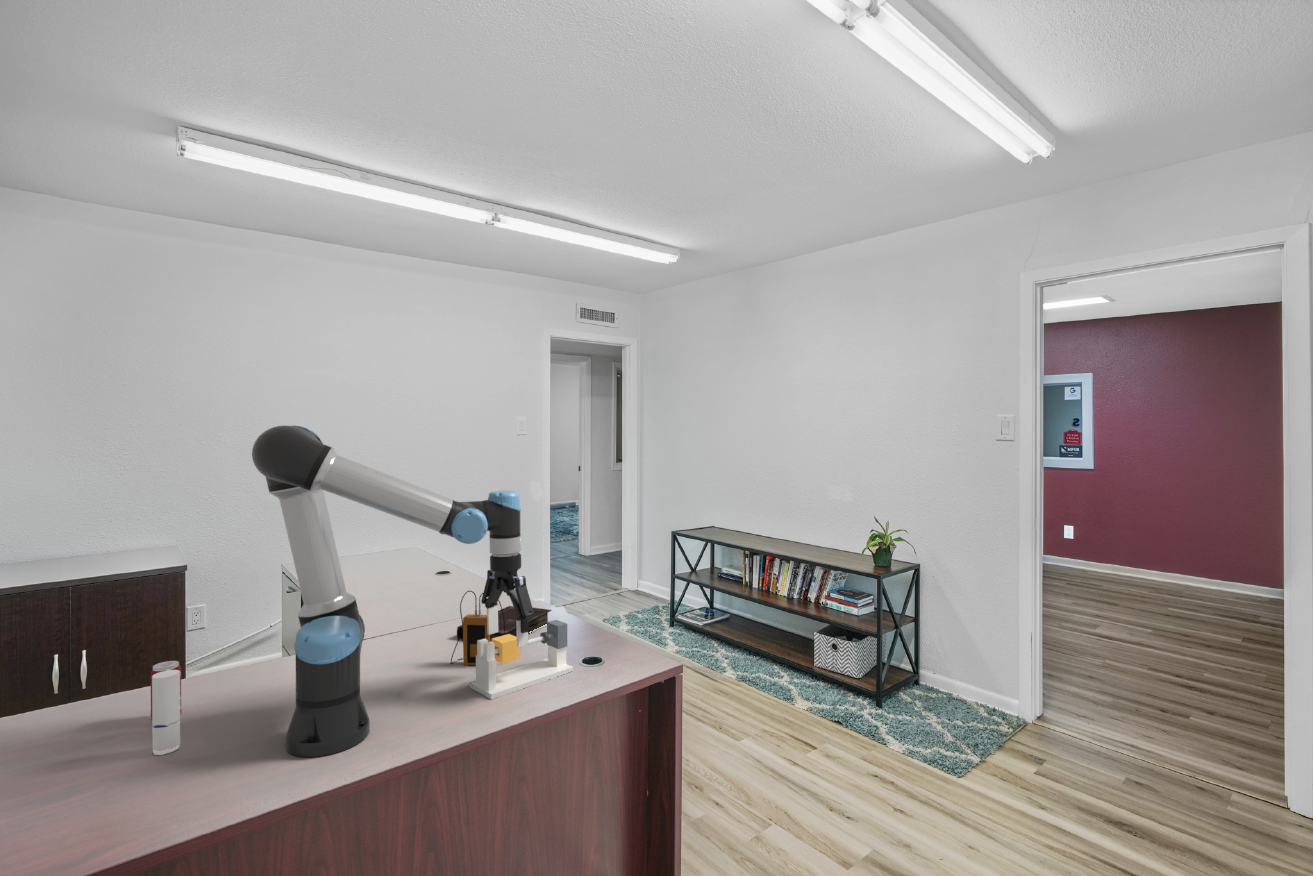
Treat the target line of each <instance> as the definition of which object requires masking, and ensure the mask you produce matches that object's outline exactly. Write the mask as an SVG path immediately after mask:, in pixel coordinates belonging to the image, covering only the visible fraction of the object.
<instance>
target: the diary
mask: <svg viewBox="0 0 1313 876" xmlns="http://www.w3.org/2000/svg"><path fill="white" fill-rule="evenodd" d="M532 608H533V612H534V616H533V617H530V618H529V619H528V634H529V635H531V634H533V633H532V632H531V634H530V633H529V632H530V631H533V630H534V629H537V628H539V627H541V626H543V625H545V624H547V622H549V620H548V619H549V617H548V616H549V615H548V614H549V613H550V612H552V609H549V608H548V609H547V608H539V607H533V606H532ZM502 610H503V614H504V620H503V614H502ZM502 610H501V609H500V610H499V609H498V632H497V633H494V638H496V637H500V636H503V635H504V621H505V635H507V634H510V635H513V636H515V637H517V626H516V619H517V618H518V616H517V613H516V611H515V608H514V606H513V605H508V606H505V607H502ZM461 631H462V624H461V625H459V626H457V628H456V639H457V640H458V639H459V636H460V633H461ZM462 637H463V631H462V633H461V636H460V638H461V639H463V638H462ZM459 640H460V639H459Z"/></svg>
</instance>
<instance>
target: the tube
mask: <svg viewBox="0 0 1313 876" xmlns="http://www.w3.org/2000/svg"><path fill="white" fill-rule="evenodd" d="M151 723H152V727H151V730H152V750H153V749H154V750H157V751H162V750H166V749H170V748H171V749H172V748H173V747H176V746H177V745H179V744H180V745H181V715H180V671H179V670H168V671H163V672H159V673H156V674H154V675H153V676H152V721H151Z"/></svg>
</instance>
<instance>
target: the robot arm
mask: <svg viewBox="0 0 1313 876" xmlns="http://www.w3.org/2000/svg"><path fill="white" fill-rule="evenodd" d="M251 449H252V450H251V457H252V458H251V459H252V461H253V464H254V466H255V468H256V470H258V472H259V473H260V474H261V475H263V476H264V477H265V480H266V485H267V488H268V492H269V494H270V495H272V496H274V497H275V498H277V499H279V504H280V507H281V513H282V516H283V517H282V518H283V520H284V526H285V530H286V533H287V538H288V543H289V547H290V550H291V556H292V559H293V563H294V568H295V572H296V573H295V574H296V577H297V583H298V586H299V589H300V595H301V598H302V602H303V603H302V606H301V608H300V609H299V611H298V613H297V617H298V621H299V625H300V627H299V629H298V630H297V632H296V635H295V641H294V645H293V646H294V652H295V707H294V711H293V714H292V717H291V720H290V723H289V726H288V728H287V732H286V735H285V750H286V752H288V753H289V754H291V755H292V756H295V757H303V758H312V757H313V758H315V757H323V756H328V755H333V754H337V753H340V752H343V751H346V750H349V749H350V748H352V747H354V746H356V745H358V744H360V743H361V742H363V741H364V740H366V738H367V737H368V735H369V734H370V730H371V729H370V717H369V715H368V712H367V709H366V707H365V703H364V702H363V699H362V696H361V654H362V653H361V652H362V647H363V642H364V638H365V631H366V628H365V626H366V625H365V623H364V619H363V618H362V616H361V614H360V612H359V608H358V604H357V603H358V602H357V599H356V597H355V595H352V594H350V593H349V592H347V589H346V584H345V580H344V576H343V572H342V567H341V563H340V558H339V555H338V549H337V544H336V540H335V535H334V532H333V527H332V524H331V523H332V522H331V519H330V514H329V511H328V505H327V501H326V497H325V492H329V493H331V494H334V495H336V496H338V497H342V498H345V499H347V500H350V501H352V502H355V503H358V504H361V505H364V506H366V507H369V508H372V509H374V510H378V511H380V512H383V513H386V514H388V515H392V516H393V517H397V518H399V519H402V520H406V521H407V522H411V523H414V524H416V525H418V526H422V527H425V528H427V529H430V530H433V531H434V532H438V533H439V534H441V535H446V536H449V537H451V538H454V539H455V540H456V541H458V542H460V543H462V544H466V545H471V544H475V543H478V542H480V541H481V540H482V539H483V538H484V537H485V536H486V534H487V533H488V532H489V554H491V555H490V556H489V568H490V569H488V570H487V573H486V574H487V575H486V581H485V585H484V589H483V592H482V593H483V594H482V595H481V599H480V603H481V604H482V605H484V607H485V608H486V615H487V634H488V635H490V634H493V633H497V632H498V611H499V607H498V606H499V604H498V603H499V601H500V600H499V599H500V598H501V596H502V595H503V593H506V596H507V597H509V598H510V599H509V600H510V601H511V604H512V606H514V608H515V611H516V613H517V616H518V618H517V619H516V626H517V647H520V648H522V647H525V646H524V645H526V646H529V645H528V640H529V635H528V619H529V618H530V617H533V616H534V612H533V608H534V607H533V605H532V600H531V598H530V594H529V590H528V587H527V580H526V576H525V575H523V576H518V571H519V570H520V569H521V568H522V554H521V553H520V552H521V550H522V549H521V548H522V547H521V546H522V545H521V543H522V542H521V541H522V540H521V502H520V501H521V500H520V494H519V493H518V492H517V491H515V490H498V491H496V490H495V491H491V492H489V493H488V498H487V499H486V500H479V501H478V500H477V501H476V500H474V501H458V500H457V501H456V500H454V499H451V498H449V497H446V496H444V495H441V494H439V493H436V492H434V491H430V490H429V489H425V488H423V487H420V486H418V485H416V484H413V483H410V482H408V481H405V480H403V479H401V478H397V477H395V476H393V475H389V474H387V473H384V472H382V471H379V470H377V469H374V468H372V467H369V466H366V465H364V464H362V463H360V462H356V461H354V460H351V459H348V458H346V457H344V456H341V455H338V454H337V451H336V450H335V448H334V447H331V446H330V445H327V444H325V443H323V442H322V439H321V438H320V436H318V434H317V433H316V432H314V431H313V430H311V429H309V428H307V427H305V426H300V425H277V426H273V427H271V428H268V429H266V430H265V431H263V432H262V433H261V434H260V435H259V436H258V437H257V438H256V439H255V441H254V443H253V445H252V448H251ZM324 491H325V492H324ZM498 600H499V601H498ZM532 607H533V608H532ZM521 646H522V647H521Z"/></svg>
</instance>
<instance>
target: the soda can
mask: <svg viewBox="0 0 1313 876" xmlns="http://www.w3.org/2000/svg"><path fill="white" fill-rule="evenodd" d="M168 670H179V671H180V712H181V713H182V667H181V665H180V662H179V661H178V660H169V661H162V662H159V663H156V664H154V665H152V670H151V671H150V719H151V718H152V676H153V675H154V674H156V673H159V672H163V671H168Z"/></svg>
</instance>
